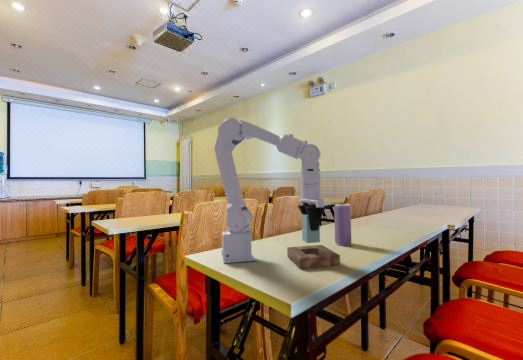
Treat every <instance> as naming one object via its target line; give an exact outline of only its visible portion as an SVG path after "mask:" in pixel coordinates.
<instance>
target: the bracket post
mask: <svg viewBox="0 0 523 360" xmlns="http://www.w3.org/2000/svg"><path fill="white" fill-rule="evenodd" d="M301 217H302V218H301V228H302V229H301V230H302V232H301V236H302V238H301V239H302V241H304V242H305V243H306V244H310V243H311V244H312V243H314V244H316V243H321V234H320V233H321V231H320V228H321V226H320V225H321V224H319V229H318V230H316V231H311V229H310V224H309V218H308V214H301Z"/></svg>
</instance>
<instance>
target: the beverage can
mask: <svg viewBox="0 0 523 360" xmlns="http://www.w3.org/2000/svg"><path fill="white" fill-rule="evenodd" d="M333 210H334V212H333V213H334V215H333V216H334V243H335V244H336V245H337V246H345V247H347V246H350V245H352V207H351V204H349V203H335V204H334V207H333Z"/></svg>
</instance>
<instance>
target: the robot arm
mask: <svg viewBox="0 0 523 360" xmlns="http://www.w3.org/2000/svg"><path fill="white" fill-rule="evenodd" d="M254 138H255V139H257V140H259V141H263V142H265V143H268V144H270V145H273V146H276V149H277V152H279V153H281V154H284V155H286V156H289V157H291V158H293V159H296V160H298V159H300V160H301V169H300V188H301V190H300V192H301V193H300V195H301V197H299V203H300V205H297V206H298V210H299V211H300V213H301V215H302V214H308V218H309V224H310V229H311V231H316V230H318V229H319V224H320V223H321V220H322V216H323V214H324V212H325V210H326V206H325V198H324V197H321V169H320V161H319V159H320V158H321V150H320V149H319V147H318V146H317V145H315V144H313V143H309V142H308V140H304V141H303V140H300V139H299V138H297V137H295V136H294V134H292V133H289V134H286V133H285V134H283V135H277V134H275V133H273V132H271V131H269V130H266V129H264V128H262V127H260V126H258V125H255V124H253V123H251V122H248V121H245V120H241V119H239V120H238V119H237V118H235V117H227V118H225V119H224V120H223V121H222V122H221V123H220V124H219V126H218V127H217V136H216V142H215V144H214V152H215V153H214V154H215V157H216V162H217V166H218V170H219V174H220V179H221V182H222V185H223V190H224V193H225V198H226V201H227V203H226V209H225V211H226V220H225V223H226V224H225V225H226V226H227V228H228V230H227V231H222V235H221V236H222V237H221V238H222V244H221V246H222V249H221V256H222V260H223V263H224V264H230V263H232V264H233V263H241V262H242V263H243V262H253V261H254V262H255V257H254V255H253V254H252V252H253V251H252V250H253V249H252V246H253V245H252V227H251V226H250V224H251V223H252V220H253V215H252V212H251V210H249V208H248V205H247V203H246V202H245V200H244V198H243V193H242V189H241V185H240V182H239V177H238V172H237V170H236V165H235V161H234V157H233V154H232V153H233V151H234V150H235V149H236V147H237V146H238V145H239V144H241V143H242V142H243V141H244V140H245V139H246V140H250V139H254ZM308 143H309V144H308ZM320 225H321V224H320Z"/></svg>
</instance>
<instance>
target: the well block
mask: <svg viewBox="0 0 523 360" xmlns="http://www.w3.org/2000/svg"><path fill="white" fill-rule="evenodd" d="M286 252H287V255H286V257H287V258H288V259H289V260H290V261H291V262H292V263H293V264H294V265H295V266H296V267H297V268H298V269H299V270H305V269H306V270H307V269H317V268H319V269H320V268H327V267H339V266H341V256H340V254H339V253H337V252H335V251H334V250H332V249H330V248H328V247H327V246H325V245H323V244H318V245H317V244H316V245H302V246H300V245H299V246H288V247H287V248H286Z"/></svg>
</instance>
